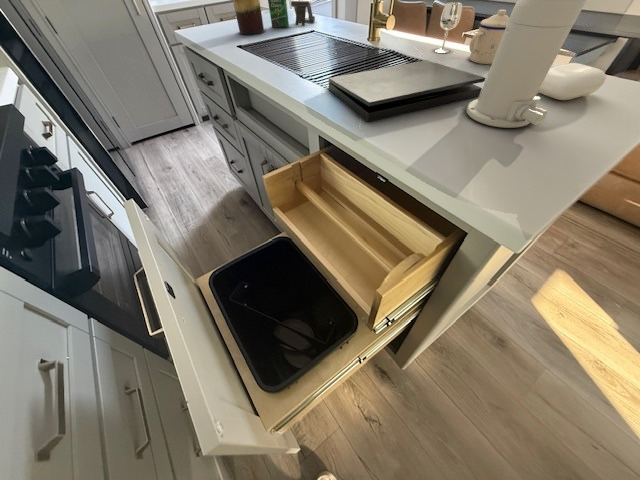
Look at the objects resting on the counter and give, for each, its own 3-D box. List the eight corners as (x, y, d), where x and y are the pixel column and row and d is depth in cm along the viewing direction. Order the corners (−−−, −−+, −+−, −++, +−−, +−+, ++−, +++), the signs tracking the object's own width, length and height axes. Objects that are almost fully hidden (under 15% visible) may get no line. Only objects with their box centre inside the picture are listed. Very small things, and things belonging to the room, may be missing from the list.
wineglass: (452, 53, 87) (465, 5, 78) (433, 53, 88) (445, 5, 79) (450, 49, 90) (462, 1, 81) (432, 48, 91) (443, 2, 82)
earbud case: (521, 91, 64) (533, 66, 60) (559, 82, 67) (573, 57, 63) (561, 107, 58) (578, 79, 54) (601, 96, 61) (620, 69, 57)
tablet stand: (315, 22, 129) (314, -2, 122) (308, 25, 124) (307, 1, 118) (298, 21, 131) (297, -2, 125) (291, 24, 126) (289, 1, 120)
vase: (259, 34, 115) (248, -33, 100) (236, 35, 116) (221, -32, 101) (267, 29, 122) (257, -35, 107) (244, 29, 123) (232, -34, 108)
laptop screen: (484, 82, 61) (485, 77, 61) (369, 107, 55) (369, 102, 54) (426, 63, 75) (426, 60, 75) (328, 82, 69) (328, 78, 68)
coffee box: (271, 27, 124) (265, -11, 114) (273, 26, 126) (268, -12, 116) (286, 28, 122) (282, -12, 112) (289, 26, 124) (285, -12, 114)
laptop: (479, 96, 64) (482, 87, 62) (367, 121, 57) (368, 112, 55) (424, 71, 77) (426, 63, 75) (328, 89, 70) (328, 81, 69)
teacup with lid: (485, 54, 85) (502, 6, 76) (508, 61, 79) (529, 10, 71) (454, 59, 82) (468, 10, 74) (475, 68, 77) (493, 15, 68)
